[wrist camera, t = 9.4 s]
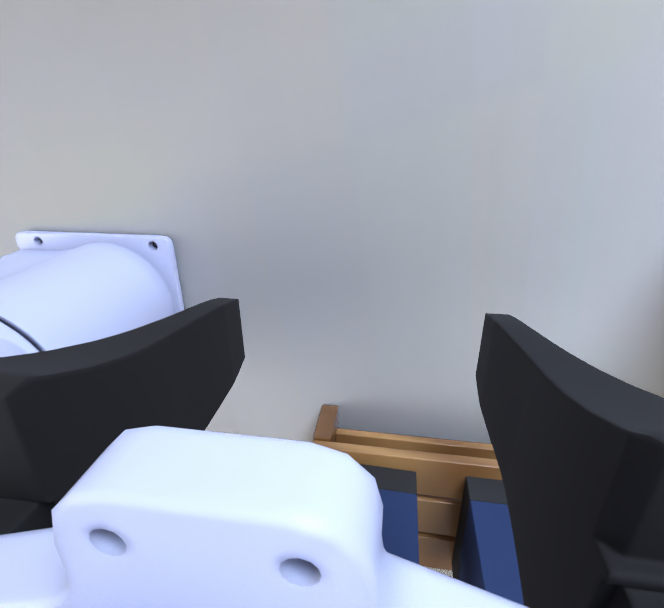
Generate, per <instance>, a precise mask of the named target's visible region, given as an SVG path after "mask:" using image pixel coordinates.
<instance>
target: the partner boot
mask: <svg viewBox="0 0 664 608" xmlns="http://www.w3.org/2000/svg"><path fill="white" fill-rule="evenodd" d="M451 563H452V572H453V578H455V579H457V580H460V581H462V582H465V583H468V584H470V585H473V586H475V587H478V588H480V589H483V590H486V591H488V592H491V593H493V594H496V595H498V596H501V597H503V598H506V599H509V600H511V601H514V602H516V603H519V604H521V605H524V602H523V595H522V588H521V582H520V575H519V568H518V561H517V555H516V549H515V543H514V537H513V531H512V525H511V520H510V515H509V509H508V504H507V498H506V493H505V488H504V484H503V480H495V479H486V478H477V477H469V476H466V480H465V485H464V491H463V497H462V503H461V509H460V515H459V521H458V527H457V533H456V538H455V544H454V550H453V556H452V562H451Z"/></svg>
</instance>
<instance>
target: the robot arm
mask: <svg viewBox="0 0 664 608" xmlns="http://www.w3.org/2000/svg"><path fill="white" fill-rule="evenodd" d="M15 238H16V242H17V245H18V248H19V251H16V252H13V253H10V254H8V255H5V256H2V257H0V608H664V398H662V397H660V396H657V395H655V394H652V393H650V392H647V391H644V390H642V389H640V388H637V387H635V386H633V385H630V384H628V383H626V382H624V381H621V380H619V379H617V378H615V377H613V376H611V375H609V374H607V373H605V372H603V371H601V370H599V369H597V368H595V367H593V366H591V365H589V364H587V363H586V362H584V361H582V360H580V359H579V358H577V357H575V356H573V355H572V354H570V353H568V352H567V351H565V350H563V349H562V348H560V347H559V346H557V345H556V344H554V343H552V342H551V341H549V340H548V339H546V338H545V337H543V336H542V335H540V334H539V333H537V332H536V331H534V330H533V329H531V328H530V327H528V326H527V325H525V324H524V323H522V322H521V321H519V320H518V319H516V318H514V317H513V316H510V315H505V314H487V313H486V314H485V321H484V327H483V333H482V339H481V345H480V352H479V358H478V364H477V370H476V381H477V389H478V396H479V402H480V407H481V410H482V414H483V417H484V420H485V424H486V427H487V430H488V433H489V437H490V440H491V443H492V446H493V450H494V453H495V456H496V459H497V462H498V466H499V469H500V472H501V476H502V480H503V484H504V488H505V493H506V498H507V504H508V509H509V515H510V520H511V525H512V531H513V537H514V543H515V549H516V555H517V561H518V568H519V575H520V582H521V588H522V595H523V602H524V605H521V604H519V603H516V602H514V601H511V600H509V599H506V598H503V597H501V596H498V595H496V594H493V593H491V592H488V591H486V590H483V589H480V588H478V587H475V586H473V585H470V584H468V583H465V582H462V581H460V580H457V579H455V578H452V577H450V576H447V575H444V574H442V573H439V572H437V571H434V570H432V569H429V568H426V567H424V566H421V565H419V564H416V563H414V562H411V561H409V560H406V559H403V558H401V557H398V556H396V555H393V554H391V553H388V552H387V551H386V550H385V548H384V546H383V540H382V520H383V503H382V500H381V496H380V493H379V490H378V487H377V483H376V480H375V478H374V477H373V476H372V475H371V474H370V473H369V472H368V471H366V470H365V469H364V468H363V467H362V466H361V465H360V464H358V463H357V462H356V461H355V460H354V459H353V458H352V457H351V456H349V455H348V454H346V453H343V452H340V451H337V450H334V449H330V448H327V447H324V446H321V445H318V444H315V443H311V442H304V441H295V440H285V439H276V438H267V437H258V436H248V435H239V434H230V433H221V432H211V431H205V429H206V427H207V426H208V424H209V423H210V421H211V419H212V418H213V416H214V415H215V413H216V412H217V410H218V408H219V407H220V405H221V404H222V402H223V400H224V399H225V397H226V395H227V394H228V392H229V391H230V389H231V387H232V386H233V384H234V382H235V380H236V377H237V375H238V373H239V371H240V368H241V366H242V363H243V361H244V358H245V354H244V345H243V336H242V327H241V318H240V310H239V301H238V299H229V298H217V299H213V300H209V301H206V302H203V303H201V304H198V305H195V306H193V307H190V308H188V309H184V303H183V297H182V291H181V286H180V280H179V274H178V268H177V263H176V257H175V251H174V245H173V242H172V241H171V239H170V238H168V237H167V236H162V235H134V234H106V233H78V232H50V231H21V232H18V233H17V234H16V237H15ZM40 239H41V240H42V241H43V243H42V242H41V241H40ZM152 241H153V242H155V243H156V244H157V246H158V247H157V248H155V247H154V246H153V244H152Z"/></svg>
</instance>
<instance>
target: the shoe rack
mask: <svg viewBox="0 0 664 608" xmlns="http://www.w3.org/2000/svg"><path fill="white" fill-rule="evenodd" d="M313 443H315V444H318V445H321V446H324V447H327V448H330V449H334V450H337V451H340V452H343V453H346V454H348V455H349V456H351V457H352V458H353V459H354V460H355V461H356V462H357V463H358V464H365V465H372V466H379V467H386V468H393V469H400V470H407V471H414V472H416V479H417V509H418V541H419V565H421V566H425V567H432V568H439V569H446V570H452V563H451V562H452V556H453V550H454V544H455V538H456V533H457V527H458V521H459V515H460V509H461V503H462V497H463V491H464V485H465V480H466V476H469V477H477V478H486V479H495V480H502V476H501V472H500V469H499V466H498V462H497V459H496V456H495V453H494V450H493V446H492V444H485V443H476V442H466V441H456V440H446V439H436V438H427V437H417V436H407V435H397V434H387V433H378V432H368V431H358V430H348V429H338V406H332V405H322V408H321V412H320V415H319V419H318V423H317V426H316V430H315V433H314V441H313Z"/></svg>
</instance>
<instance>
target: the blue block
mask: <svg viewBox="0 0 664 608" xmlns="http://www.w3.org/2000/svg"><path fill="white" fill-rule="evenodd" d="M360 465H361V466H362V467H363V468H364V469H365V470H366V471H368V472H369V473H370V474H371V475H372V476H373V477H374V478H375V480H376V483H377V487H378V490H379V493H380V496H381V500H382V503H383V520H382V540H383V546H384V548H385V550H386V551H387V552H388V553H391V554H393V555H396V556H398V557H401V558H403V559H406V560H409V561H411V562H414V563H416V564H419V541H418V509H417V479H416V472H414V471H407V470H400V469H393V468H386V467H379V466H372V465H365V464H360Z"/></svg>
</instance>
